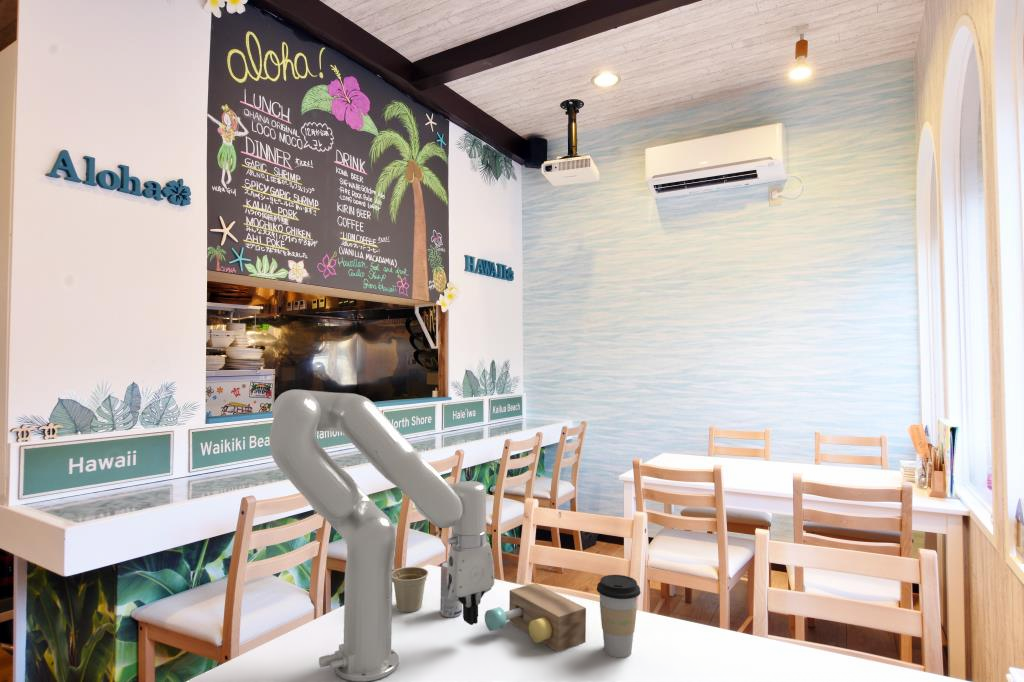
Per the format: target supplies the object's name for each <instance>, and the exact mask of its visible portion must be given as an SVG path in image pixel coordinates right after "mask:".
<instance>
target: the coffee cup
mask: <svg viewBox="0 0 1024 682" xmlns="http://www.w3.org/2000/svg"><path fill="white" fill-rule="evenodd" d="M596 591H597V592H598V593H599V608H600V609H599V610H600V619H601V620H600V622H601V629H602V637H603V646H604V651H605V653H606V654H607V655H608V656H611V657H615V658H627V657H629V656H631V655H632V649H633V641H634V640H633V639H634V633H635V630H636V629H635V628H636V618H637V609H638V604H637V603H638V597H639V596H640V595H641V594H642V593H641V587H640V586H639V585H638V582H637V580H636V579H635V578H633V577H630V576H629V575H622V574H608V575H604V576H601V578H600V581H599V582H598V583H597V586H596Z"/></svg>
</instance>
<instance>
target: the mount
mask: <svg viewBox="0 0 1024 682" xmlns="http://www.w3.org/2000/svg"><path fill="white" fill-rule="evenodd" d="M508 602H509V606H508V607H509V608H508V609H509V610H513V609H516V608H519V607H522V608H523V615H522V616H518V617H515V618H512V619H509V620H508V622H509V623H511V624H513V625H514V626H515V627H517V628H518V629H520V630H521V631H523V632H525V633H527V634H529V635H530V633H529V624H530V622H531V621H533V620H536V619H539V618H542V617H545V618H547V619H548V621H549V622H550V624H551V627H552V635H551V637H550V638H549V639H546V640H543V641H540V642H542V643H544V644H545V645H546V646H549V647H550V648H551V649H553V650H554V651H556V652H558V653H559V652H563V651H565V650H568V649H570V648H573V647H576V646H578V645H581V644H584V643H586V640H587V639H586V636H587V635H586V632H587V631H586V630H587V624H586V623H587V622H586V621H587V608H586V607H585V606H583V605H580V604H578V603H576V602H574V601H572V600H570V599H569V598H566V597H565V596H563V595H560V594H558V593H557V592H554V591H553V590H550V589H548V588H547V587H545V586H543V585H540V584H538V583H537V582H534V583H531V584H527V585H523V586H520V587H519V586H518V587H516V588H512V589H509V601H508ZM509 610H508V611H509Z"/></svg>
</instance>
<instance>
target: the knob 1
mask: <svg viewBox="0 0 1024 682" xmlns="http://www.w3.org/2000/svg"><path fill="white" fill-rule="evenodd" d="M522 615H523V608H522V607H519V608H516V609H513V610H506V611H504V609H503V608H502V607H501V606H500V607H499V606H498V607H496V608H492V609H488V610H486V611H485V614H484V623H485V625H486V628H487V630H488V631H490V632H494V631H497V630H500V629H504V628H505V627H506V625H507V621H509V619H512V618H515V617H518V616H522Z"/></svg>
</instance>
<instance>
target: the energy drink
mask: <svg viewBox="0 0 1024 682" xmlns="http://www.w3.org/2000/svg"><path fill="white" fill-rule="evenodd" d="M447 565H448V560H447V561H445V562H443V563H442V564H441V567H440V607H439V608H440V609H439V610H440V615H441V616H442V617H444V618H450V619H451V618H458V617H459V616H461V614H463V604H462V603H461V602H459V601H450V600H449V599H448V595H449V591H448V589H447Z"/></svg>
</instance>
